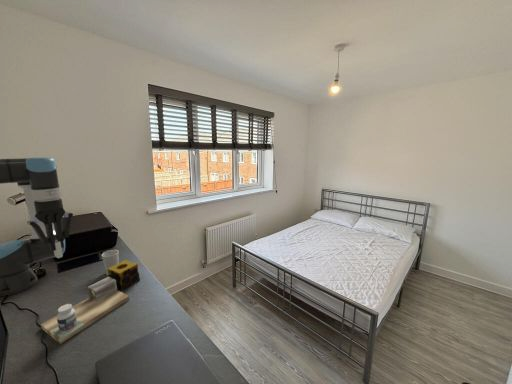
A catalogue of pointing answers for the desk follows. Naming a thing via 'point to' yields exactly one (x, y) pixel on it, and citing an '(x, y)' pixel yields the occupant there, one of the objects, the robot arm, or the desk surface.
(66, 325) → the pill bottle
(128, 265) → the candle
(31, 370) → the desk surface
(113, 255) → the cup
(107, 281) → the wooden base board
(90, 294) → the pin
